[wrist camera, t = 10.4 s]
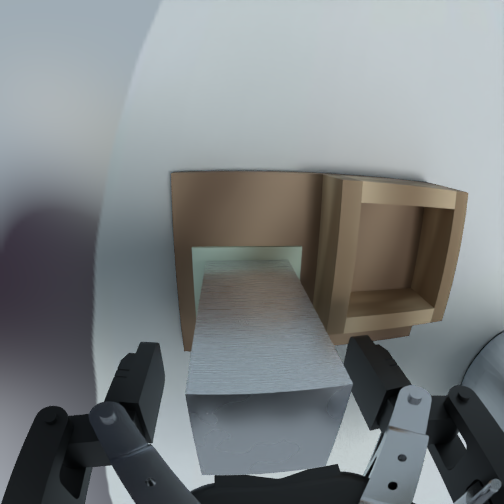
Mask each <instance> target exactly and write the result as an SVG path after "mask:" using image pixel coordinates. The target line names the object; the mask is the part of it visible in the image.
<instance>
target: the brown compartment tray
mask: <svg viewBox="0 0 504 504" xmlns="http://www.w3.org/2000/svg"><path fill="white" fill-rule="evenodd" d="M171 190H172V216H173V236H174V252H175V266H176V278H177V290H178V300H179V310H180V320H181V329H182V337H183V345H184V351H191V350H192V344H193V337H194V331H195V324H196V318H197V312H198V306H199V300H200V294H201V288H202V282H203V276H204V271H205V265H206V261H228V260H289V262H290V264H291V265H292V267H293V269H294V271H295V273H296V275H297V277H298V279H299V280H300V282H301V284H302V286H303V288H304V290H305V292H306V294H307V295H308V297H309V299H310V301H311V303H312V305H313V307H314V309H315V311H316V312H317V314H318V316H319V318H320V320H321V322H322V324H323V326H324V328H325V330H326V332H327V334H328V336H329V337H330V339H331V341H332V343H333V345H343V344H348V342H349V339H350V337H352V336H361V335H368V336H369V337H370V338H371V340H372V341H377V340H384V339H391V338H398V337H404V336H409V334H410V331H411V327H412V325H418V324H425V323H431V322H437V321H442V318H443V315H444V312H445V308H446V305H447V301H448V298H449V294H450V290H451V286H452V282H453V278H454V274H455V270H456V265H457V261H458V256H459V251H460V246H461V240H462V235H463V229H464V222H465V215H466V208H467V200H468V193H467V192H463V191H460V190H456V189H452V188H448V187H444V186H440V185H436V184H432V183H427V182H419V181H410V180H401V179H392V178H382V177H371V176H358V175H345V174H329V173H310V172H284V171H189V172H173V173H171Z"/></svg>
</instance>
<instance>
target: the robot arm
mask: <svg viewBox="0 0 504 504" xmlns="http://www.w3.org/2000/svg"><path fill="white" fill-rule="evenodd" d="M344 367H345V369H346V371H347V373H348V375H349V377H350V379H351V381H352V383H353V386H352V389H351V391H352V393H353V396H354V398H355V400H356V402H357V404H358V406H359V408H360V410H361V412H362V415H363V417H364V419H365V421H366V423H367V425H368V427H369V430H374V429H379V428H380V430H381V434H380V436H379V439H378V441H377V444H376V446H375V449H374V451H373V454H372V456H371V458H370V461H369V463H368V465H367V468H366V470H365V472H364V474H363V476H362V475H359V474H355V473H351V472H340V469H339V466H338V464H336V465H330V466H324V467H318V468H312V469H307V470H305V471H302V472H299V473H296V474H293V475H290V476H287V477H284V478H281V479H273V478H265V477H257V476H250V475H215V483H212V484H207V485H204V486H201V487H199V488H196V489H194V490H192V491H191V492H190V491H189V490H188V489H187V488H186V487H185V486H184V484H183V483H182V482H181V481H180V480H179V478H178V477H177V476H176V475H175V474H174V472H173V471H172V470H171V469H170V467H169V466H168V465H167V464H166V462H165V461H164V460H163V458H162V457H161V456H160V455H159V453H158V452H157V451H156V449H155V448H154V447H153V446H152V445H151V444H148V443H153V438H154V432H155V427H156V422H157V417H158V412H159V407H160V403H161V398H162V393H163V389H164V383H165V372H164V366H163V361H162V356H161V350H160V345H159V343H155V342H140V344H139V347H138V349H137V352H136V353H128V354H127V355H126V356H125V357H124V358H123V359H122V360H121V362H120V364H119V366H118V370H117V371H116V373H115V377H114V378H113V381H112V383H111V386H110V388H109V390H108V393H107V395H106V398H105V400H104V402H102V403H99V404H97V405H95V406H94V407H93V408H92V409H91V411H90V413H89V414H85V415H74V416H68V414H67V413H66V411H65V410H64V409H63V408H61V407H57V406H49V407H46V408H43V409H42V410H40V411H39V412H38V414H37V415H36V417H35V419H34V421H33V424H32V426H31V428H30V430H29V432H28V435H27V437H26V439H25V442H24V444H23V446H22V449H21V451H20V454H19V456H18V458H17V461H16V464H15V466H14V469H13V471H12V474H11V477H10V480H9V482H8V485H7V488H6V491H5V494H4V497H3V500H2V503H1V504H85V500H86V495H87V490H88V485H89V481H90V476H91V472H92V467H98V466H108V465H112V466H113V468H114V470H115V472H116V473H117V475H118V477H119V478H120V480H121V482H122V483H123V485H124V486H125V488H126V490H127V491H128V493H129V494H130V496H131V497H132V499H133V500H134V502H135V503H136V504H415V503H413V502H412V501H413V498H414V494H415V491H416V488H417V484H418V481H419V477H420V474H421V470H422V466H423V462H424V458H425V454H426V449H427V448H428V450H429V452H430V454H431V456H432V458H433V460H434V462H435V464H436V466H437V468H438V470H439V472H440V474H441V477H442V479H443V481H444V483H445V485H446V487H447V490H448V492H449V494H450V496H451V498H452V501H453V503H454V504H504V332H503V333H501V334H499V335H498V336H496V337H495V338H494V339H493V340H491V341H490V342H489V343H488V344H487V345H486V346H485V347H484V348H483V350H482V351H481V352H480V353H479V354H478V356H477V357H476V358H475V359H474V361H473V362H472V364H471V365H470V367H469V369H468V371H467V372H466V374H465V377H464V379H463V382H462V385H458V386H454V387H452V388H451V389H450V391H449V393H448V395H447V396H431V395H430V393H429V392H428V391H427V390H426V389H424V388H423V387H420V386H416V385H412V384H411V383H410V382H409V380H408V379H407V377H406V376H405V374H404V373H403V372H402V370H401V369H400V367H399V366H397V363H396V362H395V360H394V359H393V358H392V356H391V355H390V353H389V352H388V351H387V350H386V349H384V348H383V347H382V346H380V345H375V344H374V343H373V341H372V340H371V338H370V337H369V336H368V335H361V336H352V337H350V339H349V342H348V347H347V351H346V356H345V360H344ZM458 432H460V433H461V435H462V437H463V438H464V440H465V442H466V445H467V450H466V448H465V447H464V445H463V443H462V441H461V440H460V438H459V436H458V435H457V434H458Z"/></svg>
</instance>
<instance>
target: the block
mask: <svg viewBox="0 0 504 504" xmlns="http://www.w3.org/2000/svg"><path fill="white" fill-rule="evenodd" d="M352 386H353V383H352V381H351V379H350V377H349V375H348V373H347V371H346V369H345V367H344V365H343V363H342V361H341V359H340V357H339V355H338V353H337V351H336V349H335V347H334V345H333V343H332V341H331V339H330V337H329V336H328V334H327V332H326V330H325V328H324V326H323V324H322V322H321V320H320V318H319V316H318V314H317V312H316V311H315V309H314V307H313V305H312V303H311V301H310V299H309V297H308V295H307V294H306V292H305V290H304V288H303V286H302V284H301V282H300V280H299V279H298V277H297V275H296V273H295V271H294V269H293V267H292V265H291V264H290V262H289V260H228V261H206V265H205V271H204V276H203V282H202V288H201V294H200V300H199V306H198V312H197V318H196V324H195V331H194V337H193V344H192V350H191V357H190V364H189V371H188V378H187V386H186V393H185V395H186V401H187V406H188V412H189V417H190V422H191V427H192V432H193V437H194V442H195V446H196V451H197V455H198V460H199V464H200V469H201V473H202V475H244V474H263V473H275V472H285V471H294V470H302V469H309V468H316V467H322V466H326V463H327V461H328V458H329V456H330V453H331V450H332V447H333V445H334V442H335V439H336V436H337V433H338V431H339V428H340V425H341V422H342V419H343V416H344V412H345V409H346V406H347V403H348V400H349V396H350V393H351V389H352Z"/></svg>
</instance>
